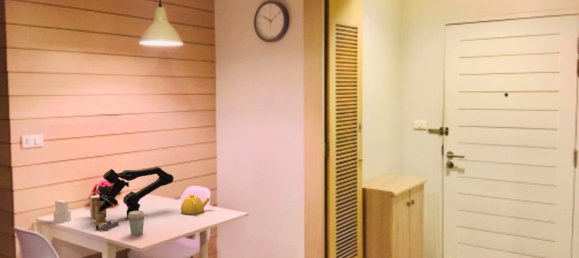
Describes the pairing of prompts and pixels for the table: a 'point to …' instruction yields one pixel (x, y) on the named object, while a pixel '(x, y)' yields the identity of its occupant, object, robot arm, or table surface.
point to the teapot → (193, 205)
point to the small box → (92, 205)
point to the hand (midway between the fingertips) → (97, 210)
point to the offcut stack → (101, 226)
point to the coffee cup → (136, 222)
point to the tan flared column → (99, 213)
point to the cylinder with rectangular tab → (62, 212)
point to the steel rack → (109, 225)
